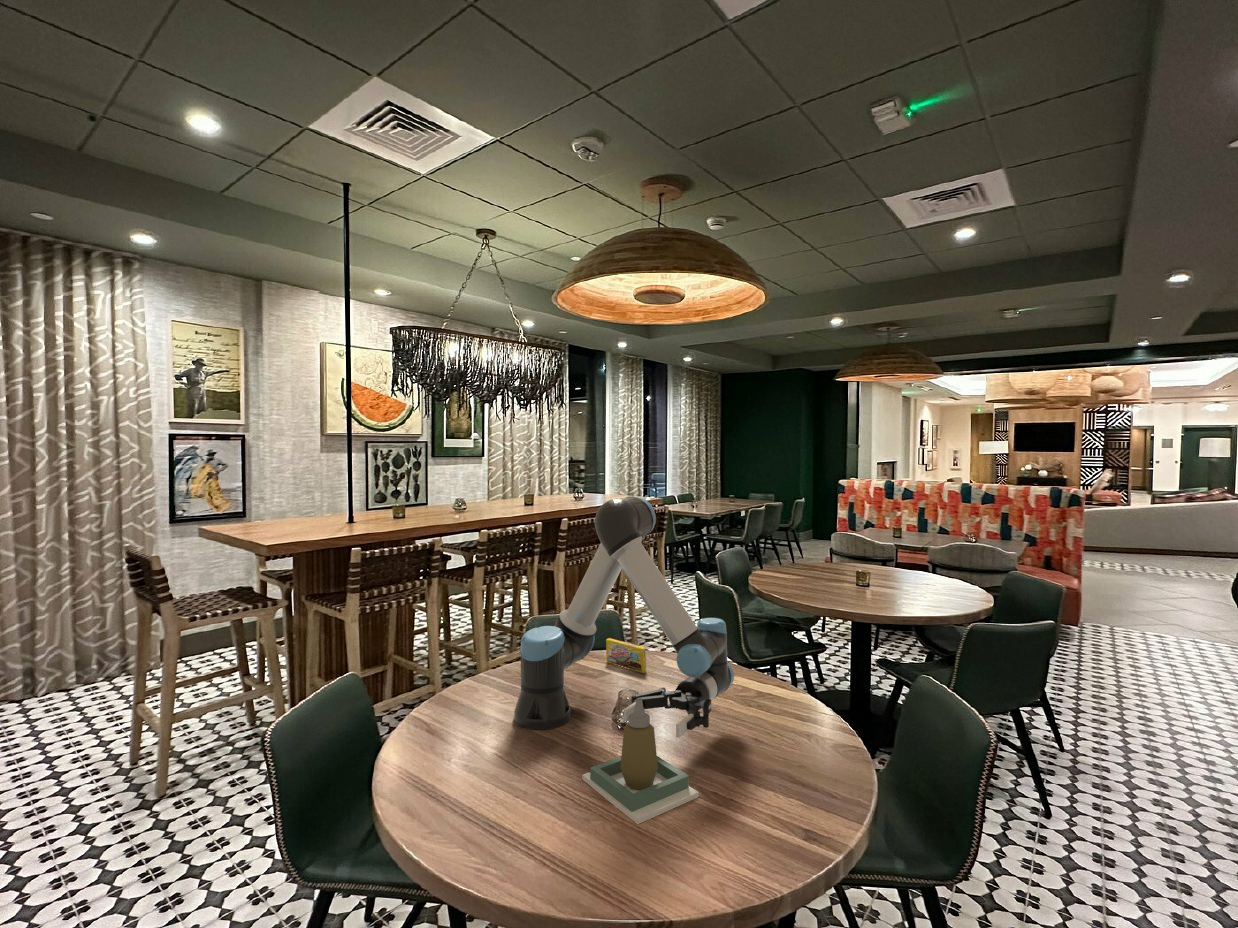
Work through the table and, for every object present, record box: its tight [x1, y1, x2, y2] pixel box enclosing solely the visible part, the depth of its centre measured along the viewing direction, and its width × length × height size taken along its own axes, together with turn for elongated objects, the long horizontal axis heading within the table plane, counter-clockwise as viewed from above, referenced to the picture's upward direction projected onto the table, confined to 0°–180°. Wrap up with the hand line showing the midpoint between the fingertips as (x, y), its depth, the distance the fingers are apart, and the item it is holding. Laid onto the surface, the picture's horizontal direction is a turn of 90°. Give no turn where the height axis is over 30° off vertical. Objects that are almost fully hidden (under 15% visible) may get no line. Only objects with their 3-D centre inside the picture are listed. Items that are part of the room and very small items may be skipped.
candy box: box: [605, 637, 647, 674], centre depth 203 cm, size 16×2×8 cm, turn 50°
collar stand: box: [581, 755, 700, 825], centre depth 128 cm, size 20×16×4 cm
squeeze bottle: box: [620, 698, 658, 790], centre depth 128 cm, size 8×8×18 cm
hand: (650, 723), depth 132 cm, fingers open, 13 cm apart
